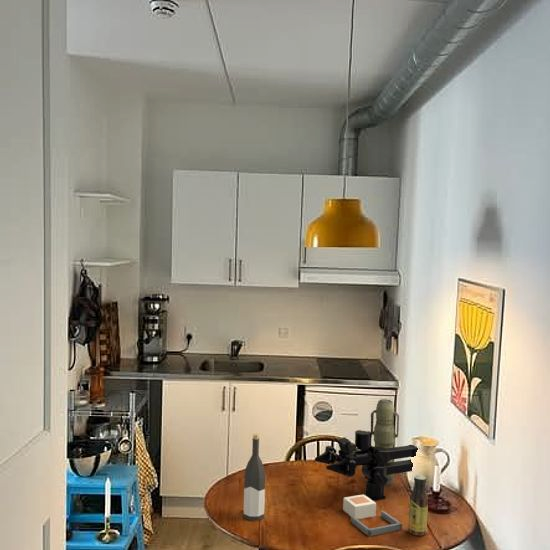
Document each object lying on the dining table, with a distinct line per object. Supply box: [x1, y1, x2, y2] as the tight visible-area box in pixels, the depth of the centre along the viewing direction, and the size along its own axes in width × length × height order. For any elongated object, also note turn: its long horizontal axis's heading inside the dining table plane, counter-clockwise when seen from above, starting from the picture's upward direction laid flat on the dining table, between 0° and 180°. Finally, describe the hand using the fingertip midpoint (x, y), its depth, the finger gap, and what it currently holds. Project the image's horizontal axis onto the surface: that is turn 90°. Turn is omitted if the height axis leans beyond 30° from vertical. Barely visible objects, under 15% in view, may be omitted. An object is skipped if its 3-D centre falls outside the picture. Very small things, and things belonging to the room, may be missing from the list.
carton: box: [342, 493, 377, 520], centre depth 216 cm, size 9×8×5 cm
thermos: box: [370, 399, 400, 487], centre depth 247 cm, size 9×12×35 cm
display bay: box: [350, 510, 403, 537], centre depth 206 cm, size 14×12×2 cm
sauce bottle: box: [408, 474, 429, 536], centre depth 202 cm, size 7×6×20 cm
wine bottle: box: [243, 433, 266, 522], centre depth 211 cm, size 8×8×30 cm
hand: (320, 463), depth 221 cm, fingers open, 9 cm apart
